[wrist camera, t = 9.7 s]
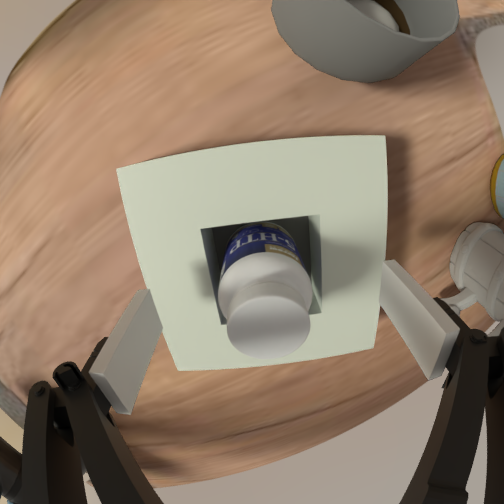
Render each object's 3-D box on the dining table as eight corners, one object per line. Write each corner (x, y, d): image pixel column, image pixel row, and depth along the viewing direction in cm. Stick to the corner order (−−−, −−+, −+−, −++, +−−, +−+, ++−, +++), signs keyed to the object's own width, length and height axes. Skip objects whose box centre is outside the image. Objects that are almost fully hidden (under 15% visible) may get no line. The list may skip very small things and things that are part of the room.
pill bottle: (294, 216, 20) (329, 276, 12) (296, 280, 22) (322, 362, 14) (219, 223, 20) (204, 288, 12) (228, 286, 22) (222, 371, 14)
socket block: (186, 340, 24) (178, 370, 21) (140, 162, 18) (116, 169, 15) (358, 319, 24) (373, 348, 20) (360, 134, 18) (385, 135, 14)
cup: (398, 20, 13) (472, -22, 4) (375, 111, 17) (465, 102, 8) (286, -27, 12) (308, -105, 3) (250, 64, 16) (252, -1, 7)
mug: (499, 254, 21) (568, 307, 10) (431, 325, 25) (486, 403, 14) (483, 202, 19) (573, 250, 8) (405, 283, 22) (478, 373, 11)
